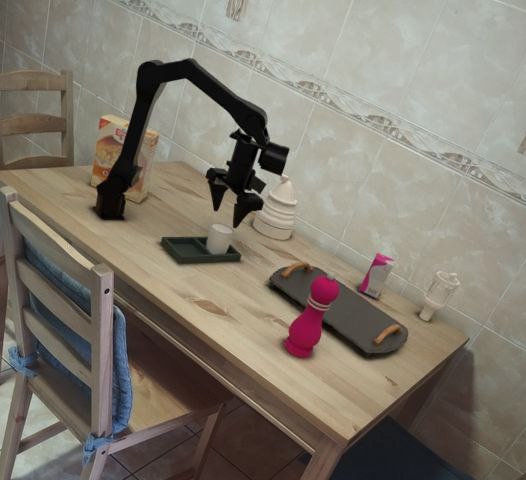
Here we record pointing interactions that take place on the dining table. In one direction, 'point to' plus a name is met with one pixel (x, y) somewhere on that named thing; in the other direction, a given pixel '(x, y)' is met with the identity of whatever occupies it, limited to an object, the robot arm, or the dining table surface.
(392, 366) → the dining table surface
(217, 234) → the shot glass
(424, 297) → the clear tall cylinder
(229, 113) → the robot arm
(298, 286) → the serving tray
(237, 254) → the divided green tray
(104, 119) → the coffeecake box
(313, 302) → the pepper mill
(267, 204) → the honey pot
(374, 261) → the supplement box
